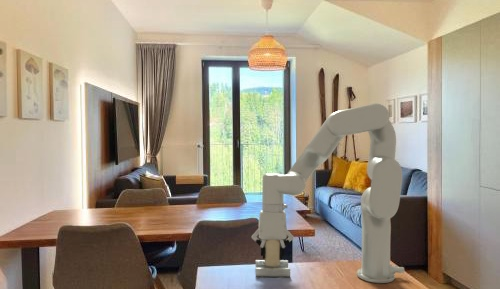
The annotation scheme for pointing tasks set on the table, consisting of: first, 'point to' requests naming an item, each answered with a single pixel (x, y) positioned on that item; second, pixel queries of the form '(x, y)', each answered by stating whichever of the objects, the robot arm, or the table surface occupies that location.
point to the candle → (272, 253)
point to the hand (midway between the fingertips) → (272, 257)
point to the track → (272, 270)
